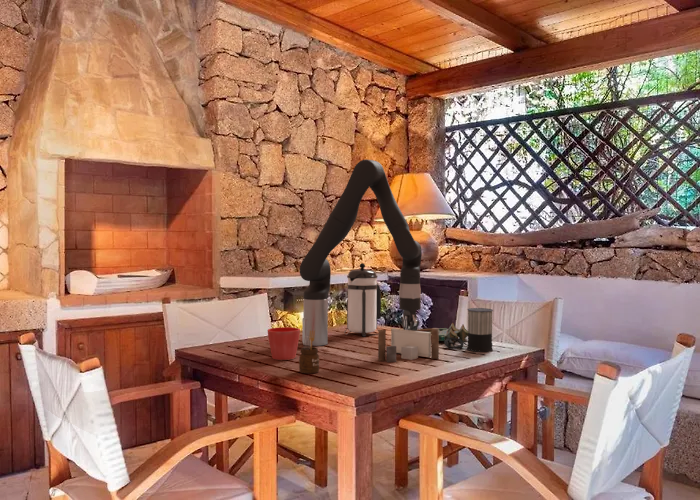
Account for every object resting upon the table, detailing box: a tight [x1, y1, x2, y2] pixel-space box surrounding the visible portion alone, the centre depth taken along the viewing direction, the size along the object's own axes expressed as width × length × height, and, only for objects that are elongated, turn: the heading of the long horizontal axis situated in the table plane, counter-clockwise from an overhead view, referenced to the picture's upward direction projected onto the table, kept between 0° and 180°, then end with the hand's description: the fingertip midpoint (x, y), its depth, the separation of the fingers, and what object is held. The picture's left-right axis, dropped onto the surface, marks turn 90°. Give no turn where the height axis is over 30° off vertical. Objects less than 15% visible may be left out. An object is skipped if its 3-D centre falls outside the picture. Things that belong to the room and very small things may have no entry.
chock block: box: [400, 345, 419, 361], centre depth 204 cm, size 4×4×4 cm
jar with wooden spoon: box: [298, 330, 320, 375], centre depth 182 cm, size 6×6×12 cm
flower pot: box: [267, 326, 301, 361], centre depth 203 cm, size 11×11×10 cm
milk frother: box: [443, 307, 494, 353], centre depth 221 cm, size 14×16×15 cm
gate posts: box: [377, 327, 440, 363], centre depth 200 cm, size 21×4×10 cm, turn 103°
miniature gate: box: [417, 322, 468, 343], centre depth 244 cm, size 27×6×30 cm
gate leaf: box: [390, 328, 431, 358], centre depth 209 cm, size 15×2×8 cm, turn 53°
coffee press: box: [343, 262, 382, 338], centre depth 256 cm, size 17×16×30 cm
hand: (409, 345), depth 215 cm, fingers closed
